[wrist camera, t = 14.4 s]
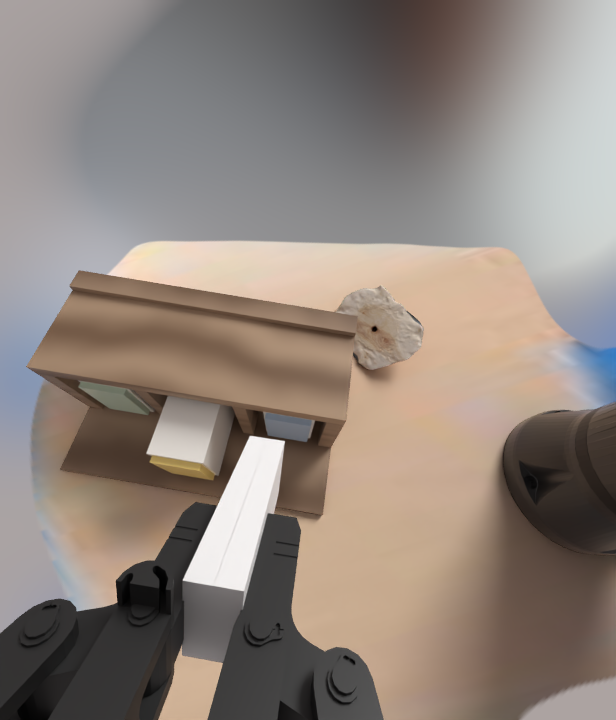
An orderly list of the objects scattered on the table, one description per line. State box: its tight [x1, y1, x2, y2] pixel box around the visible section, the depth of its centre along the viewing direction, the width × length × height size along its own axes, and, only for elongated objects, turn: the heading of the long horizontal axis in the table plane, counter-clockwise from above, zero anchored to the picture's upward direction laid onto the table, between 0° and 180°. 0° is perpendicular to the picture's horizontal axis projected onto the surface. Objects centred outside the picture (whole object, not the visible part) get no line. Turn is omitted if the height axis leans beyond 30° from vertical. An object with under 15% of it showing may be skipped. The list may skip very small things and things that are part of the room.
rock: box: [336, 285, 424, 370], centre depth 45 cm, size 11×4×12 cm
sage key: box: [79, 381, 155, 415], centre depth 36 cm, size 8×5×8 cm, turn 171°
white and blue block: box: [263, 412, 315, 442], centre depth 36 cm, size 8×5×8 cm, turn 171°
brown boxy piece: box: [26, 271, 358, 515], centre depth 34 cm, size 18×28×12 cm, turn 81°
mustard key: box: [146, 396, 235, 480], centre depth 34 cm, size 8×5×8 cm, turn 171°
